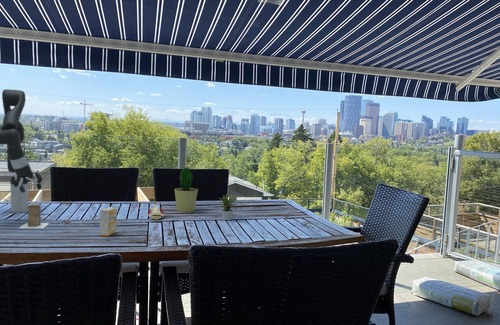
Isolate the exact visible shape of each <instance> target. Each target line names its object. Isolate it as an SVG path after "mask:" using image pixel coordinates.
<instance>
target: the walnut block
mask: <svg viewBox="0 0 500 325" xmlns="http://www.w3.org/2000/svg"><path fill="white" fill-rule="evenodd" d="M41 207H42V206H41V204H39V203H37V204H35V203H31V204H28V211H27V221H28V222H27V223H28V227H38V226H39V225H40V224H41V223H42V222H41V219H42V218H41V216H42V215H41V211H42V210H41Z"/></svg>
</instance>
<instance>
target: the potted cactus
mask: <svg viewBox="0 0 500 325" xmlns="http://www.w3.org/2000/svg"><path fill="white" fill-rule="evenodd" d="M179 176H180V177H179V180H180V184H179V185H180V186H181V187H177V188H176V187H175V188H174V195H175V204H176V212H177V211H178V212H177V213H180V212H192V213H194V212H195V209H196V204H197V198H198V197H197V196H198V192H199V189H198V188H193V187H191V186H192V181H193V179H194V176H193V173H192V172H191V167H186V166H185V167H183V168H181V171H180V173H179ZM193 211H194V212H193Z"/></svg>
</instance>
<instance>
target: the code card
mask: <svg viewBox="0 0 500 325" xmlns="http://www.w3.org/2000/svg"><path fill="white" fill-rule="evenodd" d="M49 224H50V222H41V224H40V225H39V226H38V227H28V222H26V223H24V224H22V225H21V226H19V227H18V229H44V228H45V227H47V226H48V225H49Z"/></svg>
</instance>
